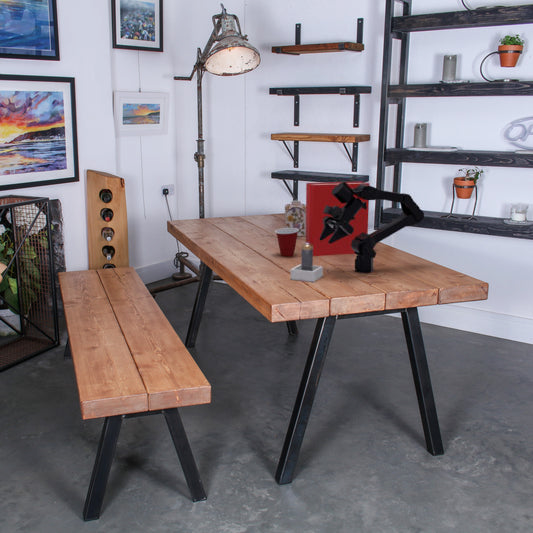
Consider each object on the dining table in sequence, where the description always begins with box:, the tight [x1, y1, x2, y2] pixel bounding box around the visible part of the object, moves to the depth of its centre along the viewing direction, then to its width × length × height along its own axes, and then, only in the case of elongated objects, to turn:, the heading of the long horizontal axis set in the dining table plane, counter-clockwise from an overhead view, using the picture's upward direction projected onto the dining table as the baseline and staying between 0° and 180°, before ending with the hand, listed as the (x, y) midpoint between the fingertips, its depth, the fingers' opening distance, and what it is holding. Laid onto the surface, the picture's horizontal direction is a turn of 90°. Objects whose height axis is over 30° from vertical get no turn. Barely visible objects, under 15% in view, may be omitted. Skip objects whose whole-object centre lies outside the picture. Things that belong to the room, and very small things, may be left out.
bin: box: [290, 263, 324, 283], centre depth 240 cm, size 10×10×4 cm
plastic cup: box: [274, 227, 299, 258], centre depth 276 cm, size 11×11×12 cm
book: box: [305, 180, 370, 257], centre depth 279 cm, size 27×8×32 cm, turn 103°
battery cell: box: [300, 242, 314, 271], centre depth 238 cm, size 4×4×13 cm
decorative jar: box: [284, 200, 306, 236], centre depth 323 cm, size 12×12×18 cm
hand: (324, 241), depth 241 cm, fingers open, 9 cm apart
